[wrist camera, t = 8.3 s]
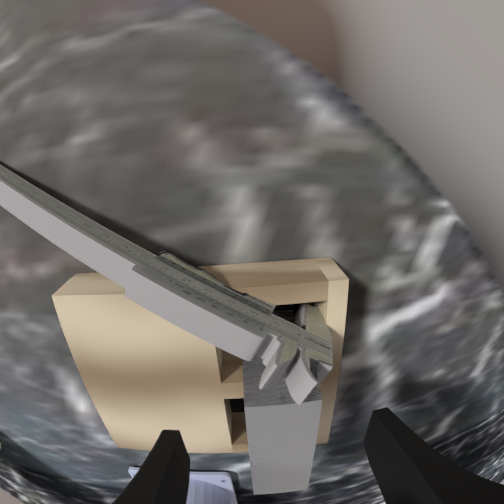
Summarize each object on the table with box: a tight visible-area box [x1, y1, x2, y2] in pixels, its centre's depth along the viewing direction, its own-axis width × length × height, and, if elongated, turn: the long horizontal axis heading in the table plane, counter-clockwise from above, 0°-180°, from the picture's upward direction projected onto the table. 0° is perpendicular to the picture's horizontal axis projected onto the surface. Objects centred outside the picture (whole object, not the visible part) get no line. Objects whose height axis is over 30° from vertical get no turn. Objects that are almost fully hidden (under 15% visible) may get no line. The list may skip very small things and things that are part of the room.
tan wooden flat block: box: [52, 257, 349, 453], centre depth 14 cm, size 10×12×2 cm
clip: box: [243, 309, 322, 495], centre depth 12 cm, size 6×2×6 cm, turn 3°
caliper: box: [0, 164, 333, 405], centre depth 9 cm, size 20×1×6 cm, turn 65°
